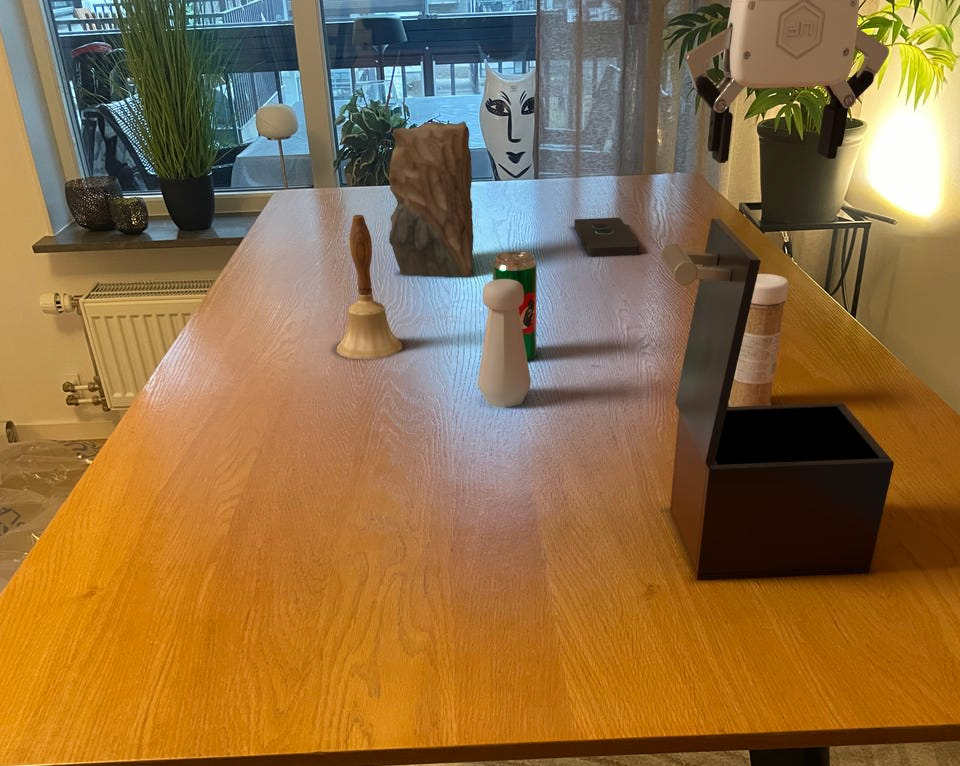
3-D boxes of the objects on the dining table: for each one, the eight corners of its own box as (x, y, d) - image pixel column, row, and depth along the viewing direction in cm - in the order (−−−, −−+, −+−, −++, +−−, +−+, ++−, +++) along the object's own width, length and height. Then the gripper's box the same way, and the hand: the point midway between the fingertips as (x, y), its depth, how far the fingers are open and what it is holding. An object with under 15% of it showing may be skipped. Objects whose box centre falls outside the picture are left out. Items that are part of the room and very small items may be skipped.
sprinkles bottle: (737, 396, 110) (753, 270, 102) (777, 404, 108) (796, 276, 100) (720, 410, 107) (734, 281, 99) (760, 418, 105) (778, 287, 97)
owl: (389, 278, 152) (378, 132, 141) (411, 256, 162) (402, 118, 151) (471, 280, 150) (466, 132, 139) (487, 258, 160) (484, 118, 149)
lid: (720, 219, 74) (658, 214, 74) (761, 260, 65) (689, 255, 64) (683, 404, 82) (627, 400, 82) (714, 464, 73) (650, 461, 73)
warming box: (823, 507, 88) (843, 402, 83) (868, 576, 79) (894, 462, 73) (669, 514, 88) (678, 408, 83) (696, 583, 79) (709, 469, 73)
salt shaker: (484, 415, 108) (480, 292, 100) (473, 395, 112) (469, 276, 105) (536, 409, 109) (537, 287, 101) (524, 390, 113) (523, 272, 106)
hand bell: (416, 348, 126) (407, 213, 117) (365, 366, 121) (352, 227, 112) (373, 334, 131) (362, 204, 122) (323, 351, 126) (307, 216, 117)
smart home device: (620, 216, 174) (641, 245, 157) (620, 226, 175) (640, 256, 158) (572, 218, 173) (588, 247, 157) (572, 228, 174) (588, 258, 158)
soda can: (539, 352, 123) (540, 250, 117) (532, 366, 119) (532, 262, 113) (499, 350, 124) (497, 249, 118) (490, 364, 120) (488, 261, 114)
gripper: (706, -73, 77) (686, 170, 87) (929, -80, 77) (883, 162, 87) (685, -72, 83) (668, 154, 93) (892, -79, 83) (853, 147, 93)
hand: (772, 158), depth 90 cm, fingers open, 9 cm apart
